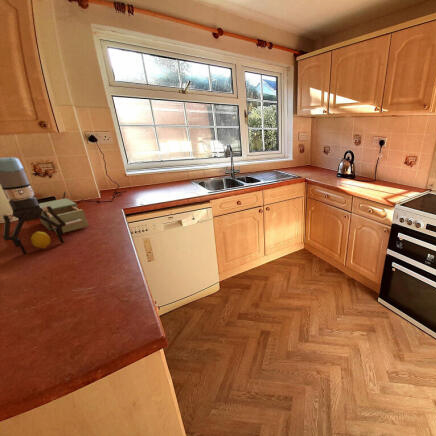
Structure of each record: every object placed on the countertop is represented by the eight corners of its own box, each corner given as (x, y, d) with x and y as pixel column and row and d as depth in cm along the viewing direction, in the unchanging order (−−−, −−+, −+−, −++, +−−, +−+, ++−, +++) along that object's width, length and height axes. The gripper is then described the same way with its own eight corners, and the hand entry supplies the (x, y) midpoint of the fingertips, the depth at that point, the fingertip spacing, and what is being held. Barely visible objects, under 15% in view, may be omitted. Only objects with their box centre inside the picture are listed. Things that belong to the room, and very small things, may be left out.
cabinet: (82, 222, 132) (76, 203, 128) (49, 230, 121) (40, 210, 118) (73, 215, 141) (66, 198, 137) (41, 223, 131) (33, 204, 127)
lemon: (42, 252, 101) (34, 234, 98) (32, 251, 102) (23, 234, 99) (56, 245, 106) (49, 229, 103) (46, 245, 107) (39, 228, 104)
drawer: (92, 228, 121) (86, 211, 118) (59, 237, 112) (52, 219, 109) (78, 219, 133) (72, 204, 130) (48, 226, 124) (41, 210, 121)
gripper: (-24, 208, 85) (4, 262, 93) (63, 192, 102) (81, 239, 110) (-26, 204, 89) (2, 256, 97) (58, 190, 106) (75, 235, 114)
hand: (44, 247), depth 104 cm, fingers open, 11 cm apart
